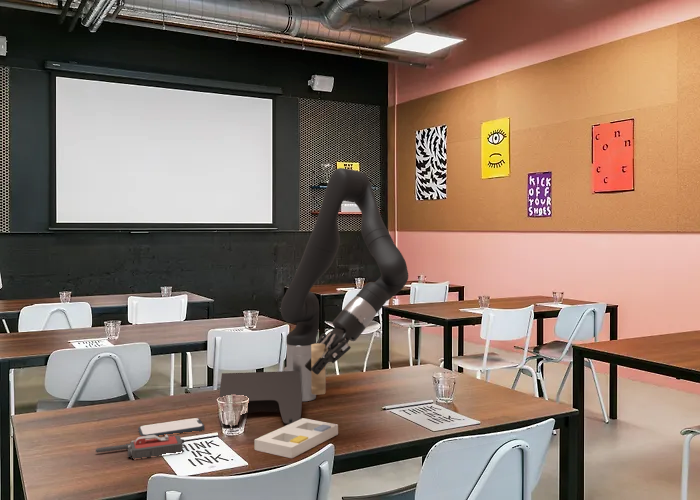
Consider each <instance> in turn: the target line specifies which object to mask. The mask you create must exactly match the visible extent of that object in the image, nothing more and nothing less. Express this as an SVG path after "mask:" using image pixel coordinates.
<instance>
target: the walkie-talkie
mask: <svg viewBox="0 0 700 500" xmlns="http://www.w3.org/2000/svg"><path fill="white" fill-rule="evenodd" d="M184 443H185V440H184V439H183V438H181V436H180V435H172V436H168V435H167V434H166V435H165V436H163V437H158V436H156V435H147V436H140V435H139V436H137V437H136V438H135V440H131V441H130V443H126V444H121V445H119V444H118V445H112V446H105V447H103V446H102V447H97V448H96V449H95V453H104V452H111V451H112V452H114V451H121V450H126V449H127V457H130V458H131V459H132V458H134V459H135V458H142V457H151V456H159V455H162V454H166V453H176V452H181V451H182V452H183V444H184ZM131 456H132V457H131Z"/></svg>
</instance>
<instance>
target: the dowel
mask: <svg viewBox="0 0 700 500" xmlns="http://www.w3.org/2000/svg"><path fill="white" fill-rule="evenodd" d="M316 343H317V342H316ZM324 352H325V344H321V343H317V344H312V345H311V368H312V367H313V365H314V364H315V363H316V362H317V361H318V359H319V358H322V357H321V356H322V355H323V353H324ZM326 372H327V371H326V366H325V367H324V368H323V369H322V370H321V372H320V373H319V374H318V375H317V374H315V373H314V372H313V371H312V370H311V393H312V394H316V396H317V395H325V394H326V391H327V389H326V388H327V387H326V379H327V377H326Z"/></svg>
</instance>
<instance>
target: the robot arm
mask: <svg viewBox="0 0 700 500" xmlns="http://www.w3.org/2000/svg"><path fill="white" fill-rule="evenodd" d="M344 202H347V203H354V204H355V205H356V206H357V207H358V209H359V211H360V213H361V217H362V218H361V226H360V231H361V236H362V239H363V241H364V243H365V245H366V248H367V249H368V251H369V254H370V255H371V256H372V257H373V258H374V260H375V263H376V264H377V266H378V269H379V272H380V276H379V277H378V279H377V280H376V281H370V282H367V283H366V284H365V285H364V286H363V287H362V288H361V289H360V290H359V292H358V293H357V294H356V295H355V296H354V297H353V298H352V299H351V300H350V301H349V302H348V303H347V304H346V305H345V306H344V307H343V309H342V310H341V311H340V312H339V313H338V314H337V316H336V317H335V318H334V319H333V321H332V325H333V327H334V328H333V329H332V330H331V331H330V332H328V333H327V334H326V333H324V332H323V333H322V334H320V336H319V338H318V339H317V337H318V334H319V324H320V304H319V299H318V297H317V296H316V295H315V293H314V292H312V291H311V289H312V288H313V286H314V285H315V284H316V282H317V281H319V280H320V278H322V277H323V275H324V274H326V272H327V271H328V270H329V268H330V267H331V266H332V264H333V262H334V261H335V258H336V255H337V253H338V251H339V248H340V244H341V236H340V230H339V226H338V225H339V224H338V216H339V213H340V209H341V207H342V204H343V203H344ZM408 270H409V269H408V265H407V263H406V260H405V257H404V255H403V254H402V252H401V250H400V249H399V248H398V247H397V245H396V244H395V243H394V240H393V238H392V236H391V234H390V231H388V229H387V227H386V225H385V223H384V220H383V218H382V215H381V211H380V209H379V206H378V203H377V200H376V197H375V194H374V189H373V187H372V184H371V182H370V180H369V177H368V176H367V174H366V173H364V172H362V171H360V170H359V171H358V170H355V169H350V168H343V167H339V168H336V169H335V170H334V171H333V172H332V174H330V177H329V180H328V182H327V185H326V188H325V192H324V195H323V199H322V202H321V207H320V209H319V212H318V215H317V218H316V221H315V223H314V227H313V229H312V232H311V234H310V235H309V239H308V241H307V244H306V246H305V249H304V252H303V255H302V257H301V260H300V262H299V264H298V267H297V269H296V272H295V273H294V276H293V278H292V280H291V282H290V283H289V286H288V288H287V289H286V292H285V294H284V296H283V297H282V300H281V304H280V314H281V317H282V319H283V320H284V321H285V322H287V323H292V324H296V326H295V327H294V329H292V330H291V331H290V332H289V333H287V335H286V366H285V367H284V369H283V371H299V374H300V381H301V394H302V402H308V401H309V402H310V401H313V400H316V398H317V395H316V394H312V393H311V370H312V371H313V372H314V373H315V374H317V375H318V374H319V373H320V372H321V370H322V369H323V368H324V367H325V368H326V367H327V365H328V364H330V363H332V364H335V363H336V362H337V361H338V360H339V359H340V358H342V357H343V356H344V355H345V354H346V353H347V352H348V351H349V350H351V348H352V347H351V345H350V344H348V343H349V342H350V341H351V342H355V341H357V340H358V338H359V337H360V336H361V335H362V333H364V331H365V330H366V329H367V328H368V326H369V325H370V324H371V323H372V321H373V320H374V318H375V317H376V315H377V313H379V312H380V310H381V309H382V307H383V306H384V305H385V304H386V303H387V302H388V301H389V300H390V299H392V298H394V297H395V296H396V295H397V294H398V293H400V292H401V291H402V289H403V288H405V285H406V284H407V282H408V280H409V271H408ZM317 343H321V344H325V352H324V353H323V355H322V356H321V357H322V358H319V359H318V361H317V362H316V363H315V364H314V365H313V367H312V368H311V345H312V344H317Z"/></svg>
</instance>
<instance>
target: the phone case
mask: <svg viewBox="0 0 700 500" xmlns="http://www.w3.org/2000/svg"><path fill="white" fill-rule="evenodd" d="M205 427H206V426H205V424H204V422H202V420H201V419H200V418H199V417H194V418H185V419H179V420H174V421H173V420H172V421H166V422H157V423H154V424H153V423H151V424H146V425H140V426H138V428H137V430H139V431H138V434H139V433H140V434H139V436H140V435H141V436H147V435H156V436H159V435H164V434H173V433H183V432H192V431H199V432H202V431H201V430H203V431H205ZM192 433H193V432H192Z"/></svg>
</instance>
